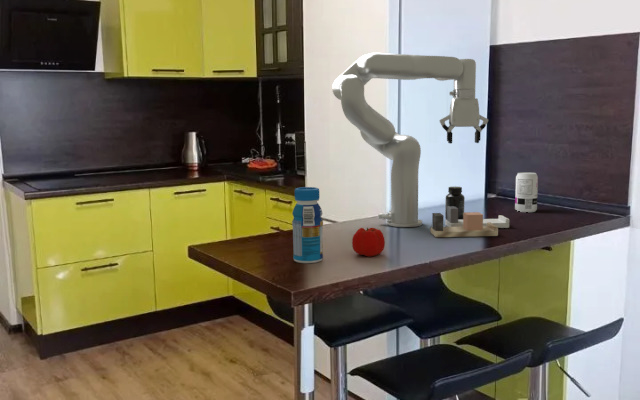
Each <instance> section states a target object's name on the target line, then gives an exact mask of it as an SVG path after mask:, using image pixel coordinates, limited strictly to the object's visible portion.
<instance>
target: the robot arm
mask: <svg viewBox="0 0 640 400" xmlns="http://www.w3.org/2000/svg"><path fill="white" fill-rule="evenodd" d="M476 63H477V62H476V61H475V59H473V58H458V57H455V56H448V55H447V56H445V55H422V54H421V55H420V54H405V53H404V54H401V53H387V52H386V53H385V52H371V53H367V54H364V55H362V56H360V57H359V58H358V59H357V60H355V61H354V62H353V63H352V64H351V65H350V66H349V67H348V68H346V70H344V71H343V72H342V73H341V74H340V75H338V77H337V78H335V80H334V81H333V83H332V87H331V89H332V94H333V95H334V97H335V98H336V99H338V100H340V102H341V103H340V104H341V108H342V109H341V110H342V112H343V114H344V116H345V118H346V119H347V120H348V122H350V123H351V124H352V125H353V126H354V127H355V128H356V129H358V130H359V131H360V132H359V133H360V137H362V139H363V140H364V141H365V143H367V144H368V145H369V146H371V148H373V149H374V150H376V151H377V152H378V153H379V154H382V156H384V157H385V158H387V159H389V160H392V163H391V164H392V165H391V171H390V184H391V185H390V187H391V188H390V197H391V199H390V210H388V212H386V213H377V219H378V220H386V225H387V226H390V227H394V228H395V227H396V228H414V227H420V226H422V225H423V220H421V219H419V166H420V159H421V154H422V153H421V152H422V151H421V145H420V143H419V141H418V140H417V139H416V138H415V137H413V136H412V135H409V134H408V135H407V134H400V133H398V132H397V131H396V128H395V126H394V124H393V123H392V122H391V121H390V120H389V119H388V118H386V117H385V116H383V115H382V114H380V112H378V111H377V110H375V109H374V108H373V107H372V106H370V104H368V102H367V100H366V97H365V86H366V85H367V84H368V83H369V82H370V80H371V81H372V79H385V80H401V81H405V80H406V81H410V80H411V81H414V80H421V79H422V80H423V79H435V80H437V81H440V82H441V81H442V82H443V81H451V80H453V90H452V91H449V96H451V97H452V98H451V101H450V105H449V106H450V107H449V114H448V115H446V116H445V117H442V118H441V119H439V123H440V125H441V127H442V129H443V130H445V132H446V142H448V144H452V143H453V132H452V131H453V129H454V128H457V127H458V128H461V127H462V128H463V127H464V128H469V127H472V128H474V129H475V132H474V143H476V144H479V143H480V141H481V133H482V131H483V130H484V129H485V128H486V126H487V124H488V122H489V118H487V117H485V116H482V115H481V114H480V106H479V104H480V103H479V100H478V98H476V84H477V83H476V77H477V75H476V74H477V73H476V72H477V70H476V69H477V64H476ZM480 120H481V121H480ZM447 121H448V125H446V122H447ZM480 122H482V123H481V124H480Z"/></svg>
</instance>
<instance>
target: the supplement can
mask: <svg viewBox="0 0 640 400" xmlns="http://www.w3.org/2000/svg"><path fill="white" fill-rule="evenodd" d="M538 176H539V175H537V173H536V172H517V174H516V175H515V191H514V192H515V193H514V194H515V198H514V210H517V211H516V212H518V211H520V212H519V213H526V212H528V213H536V211H537V210H538V192H539V191H538V189H539V188H538V187H539V186H538V185H539V184H538V183H539V177H538Z"/></svg>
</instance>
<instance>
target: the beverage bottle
mask: <svg viewBox="0 0 640 400" xmlns="http://www.w3.org/2000/svg"><path fill="white" fill-rule="evenodd" d="M294 200H295V202H296V203H295V206H294V207H293V209H292V216H293V219H292V222H291V223H292V224H291V226H292V240H293V241H292V244H293V245H292V246H293V250H292V251H293V254H292V255H293V261H294V262H296V263H300V264H315V263H316V264H317V263H320V262H322V261H323V259H324V254H323V252H324V251H323V250H324V249H323V247H324V246H323V238H324V237H323V226H324V220H323V219H322V218H323V217H322V215H323V210H322V208H321V206H320V204H319V201H320V188H318V187H314V186H312V187H311V186H303V187H297V188H296V187H295V188H294Z"/></svg>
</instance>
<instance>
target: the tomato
mask: <svg viewBox="0 0 640 400" xmlns="http://www.w3.org/2000/svg"><path fill="white" fill-rule="evenodd" d="M351 243H352V244H351V247H352V250H353V251H354V252H355V253H356V254H357V255H361V256H366V257H369V258H370V257H375V256H378V255H380V254H382V253H383V251H384V249H385V244H386V241H385V236H384V233H383V232H382V230H380V229H378V228H376V227H369V228H368V227H366V229H365V227H359V229H358V230H356V231H355V233H354V234H353V236H352V240H351Z"/></svg>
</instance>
